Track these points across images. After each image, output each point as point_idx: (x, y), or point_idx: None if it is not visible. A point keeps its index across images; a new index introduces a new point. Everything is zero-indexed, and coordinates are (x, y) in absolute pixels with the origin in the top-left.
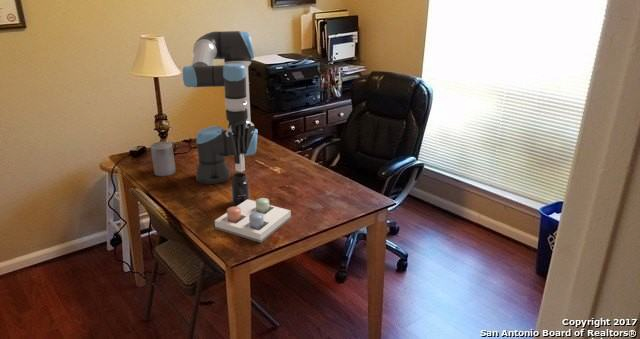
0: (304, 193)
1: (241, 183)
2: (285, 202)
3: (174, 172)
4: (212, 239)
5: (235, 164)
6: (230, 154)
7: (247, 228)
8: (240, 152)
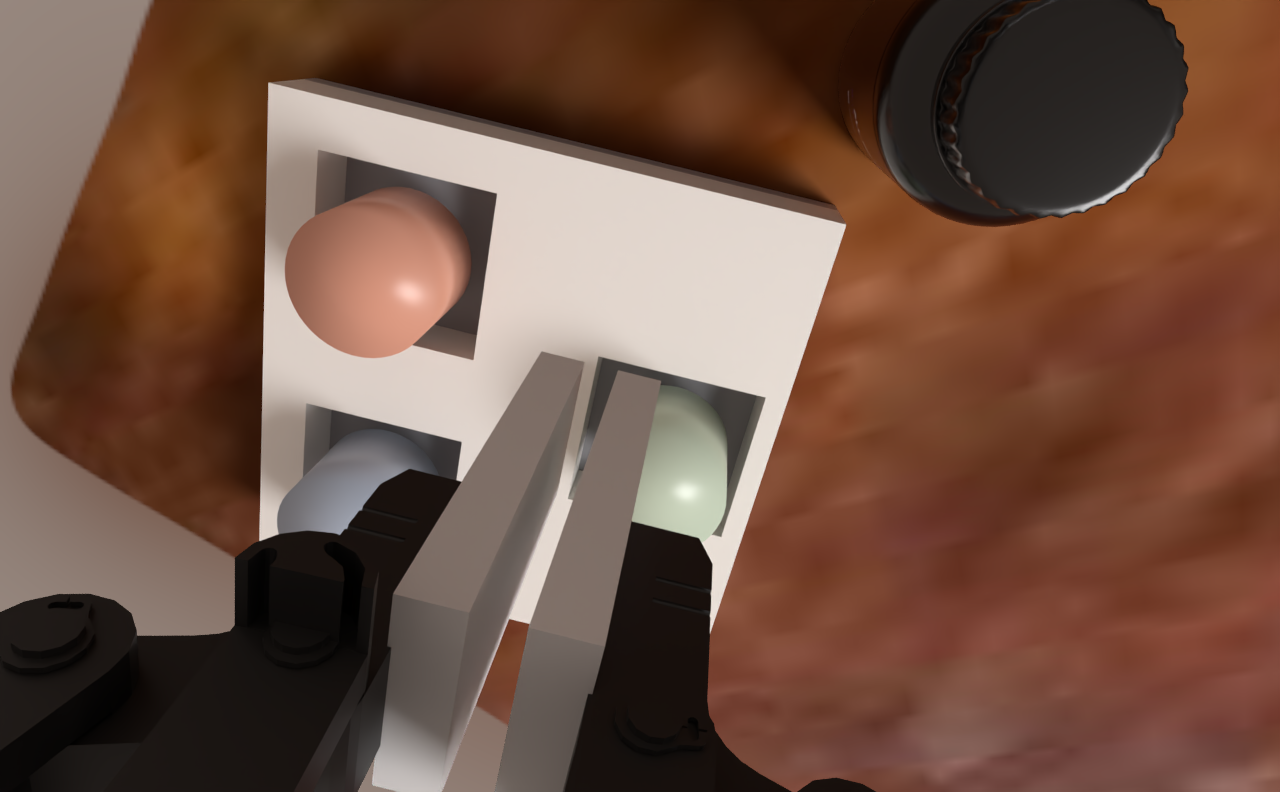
0: (1216, 621)
1: (937, 163)
2: (994, 514)
3: None
4: (158, 144)
5: (499, 420)
6: (55, 605)
7: (287, 441)
8: (571, 750)
